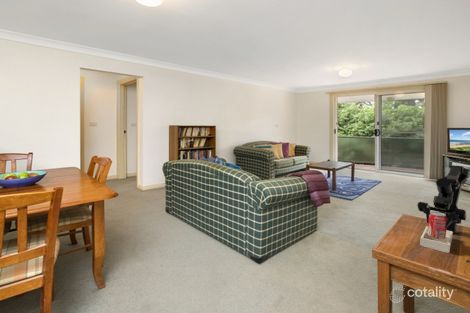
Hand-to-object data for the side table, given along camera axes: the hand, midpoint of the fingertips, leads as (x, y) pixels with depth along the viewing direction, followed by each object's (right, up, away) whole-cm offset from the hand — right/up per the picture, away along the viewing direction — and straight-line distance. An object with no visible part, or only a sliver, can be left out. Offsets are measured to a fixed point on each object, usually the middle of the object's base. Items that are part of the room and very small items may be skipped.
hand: (436, 225), depth 124 cm
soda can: (+1, -7, +2) cm, 7 cm away
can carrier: (+4, -10, +6) cm, 13 cm away
